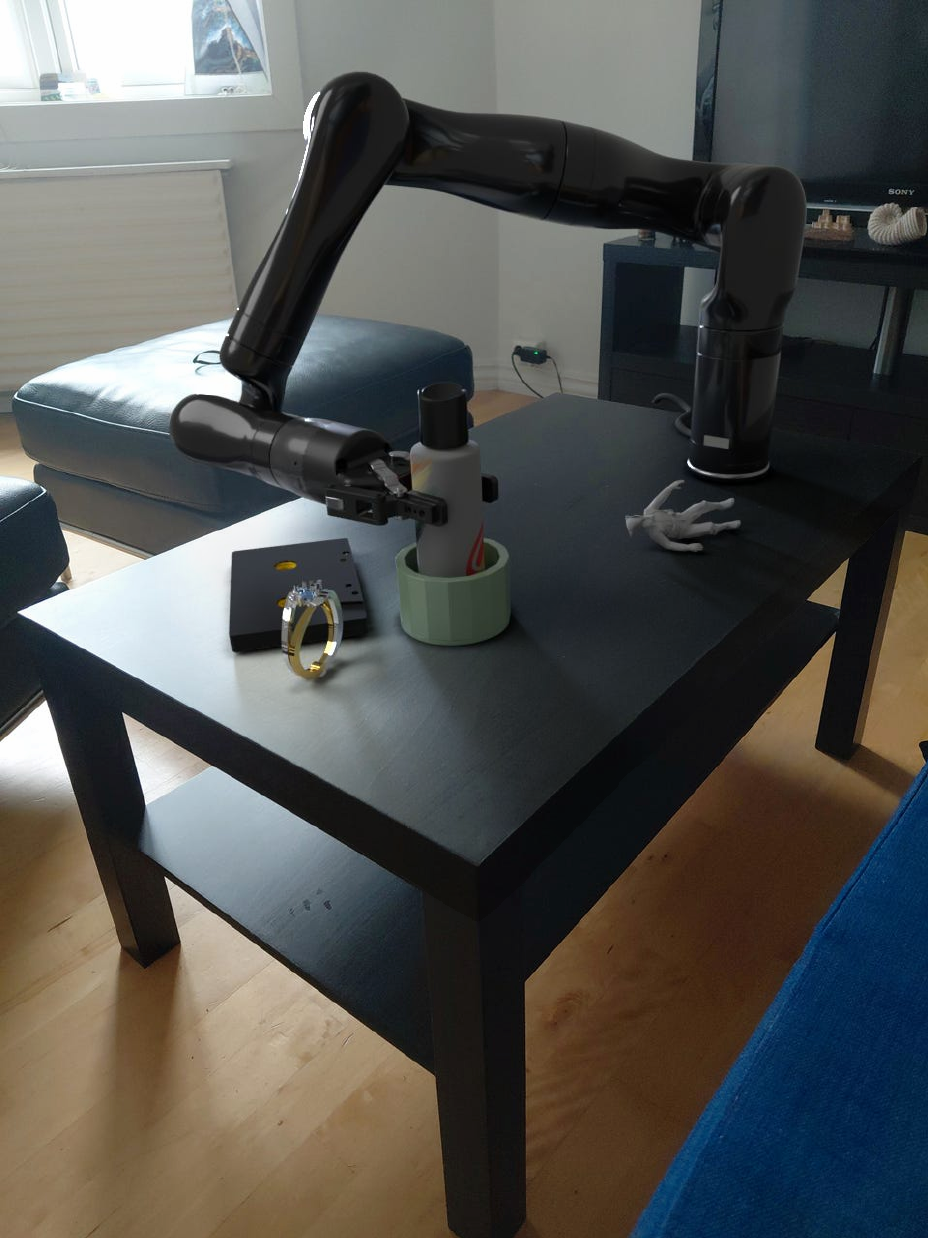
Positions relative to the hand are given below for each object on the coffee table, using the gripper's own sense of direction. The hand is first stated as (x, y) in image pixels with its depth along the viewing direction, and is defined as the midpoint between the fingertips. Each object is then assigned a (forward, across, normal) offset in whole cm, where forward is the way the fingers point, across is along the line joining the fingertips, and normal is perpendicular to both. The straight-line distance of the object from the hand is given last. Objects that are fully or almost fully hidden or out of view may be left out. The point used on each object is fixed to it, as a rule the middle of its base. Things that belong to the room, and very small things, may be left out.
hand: (470, 501), depth 76 cm
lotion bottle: (-2, 0, +11) cm, 11 cm away
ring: (-5, -14, +12) cm, 19 cm away
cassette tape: (-17, -6, +12) cm, 21 cm away
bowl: (-2, 0, +12) cm, 12 cm away
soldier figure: (+5, +27, +12) cm, 30 cm away
